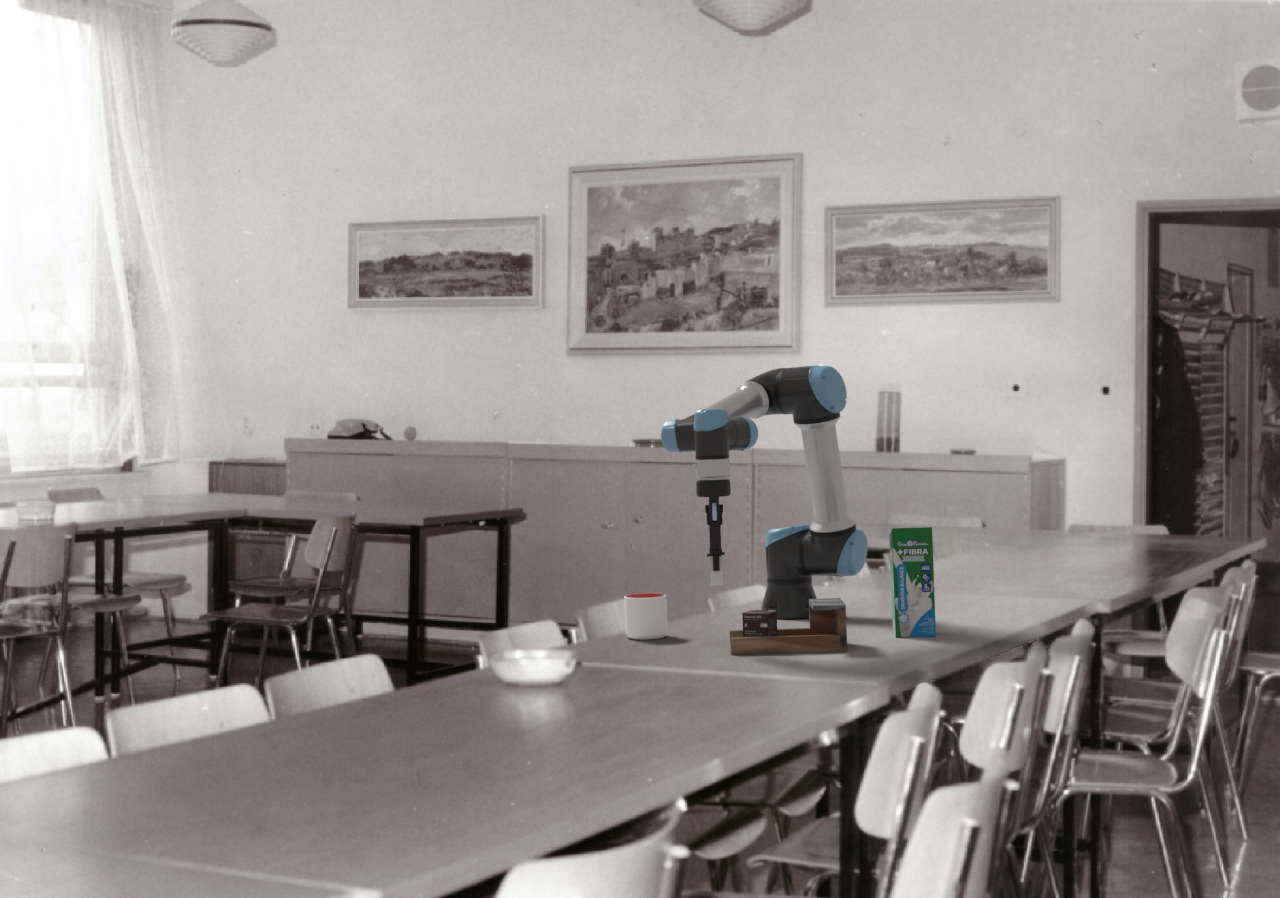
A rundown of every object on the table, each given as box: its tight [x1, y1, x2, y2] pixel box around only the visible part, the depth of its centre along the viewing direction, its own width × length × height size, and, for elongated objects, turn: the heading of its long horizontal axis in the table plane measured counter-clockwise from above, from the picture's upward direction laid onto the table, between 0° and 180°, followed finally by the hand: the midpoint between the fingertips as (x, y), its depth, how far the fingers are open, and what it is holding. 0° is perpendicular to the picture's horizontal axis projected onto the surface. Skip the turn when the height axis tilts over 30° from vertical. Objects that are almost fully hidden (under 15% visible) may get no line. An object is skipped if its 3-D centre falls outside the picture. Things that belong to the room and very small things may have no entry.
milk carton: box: [888, 525, 937, 638], centre depth 332 cm, size 9×9×25 cm
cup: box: [623, 592, 669, 641], centre depth 343 cm, size 10×10×10 cm
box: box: [741, 609, 778, 637], centre depth 318 cm, size 6×6×7 cm
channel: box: [729, 597, 848, 656], centre depth 318 cm, size 13×25×10 cm, turn 87°
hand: (716, 585), depth 318 cm, fingers closed
